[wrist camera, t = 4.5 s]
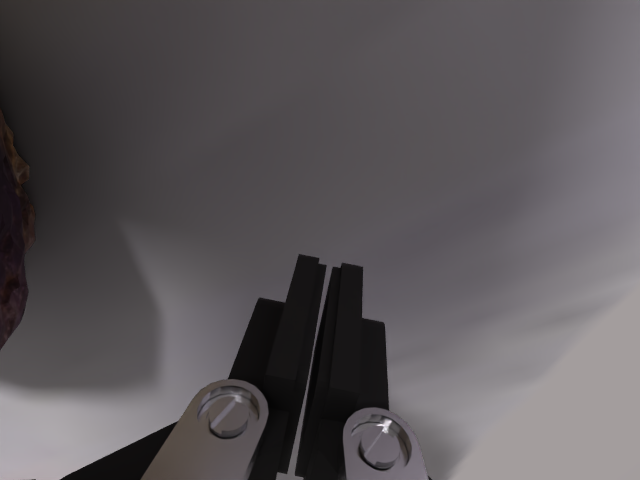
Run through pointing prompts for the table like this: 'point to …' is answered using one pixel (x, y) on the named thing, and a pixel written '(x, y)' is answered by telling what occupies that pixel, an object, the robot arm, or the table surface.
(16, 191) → the rock
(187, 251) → the table surface
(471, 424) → the table surface
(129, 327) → the table surface
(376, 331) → the robot arm
